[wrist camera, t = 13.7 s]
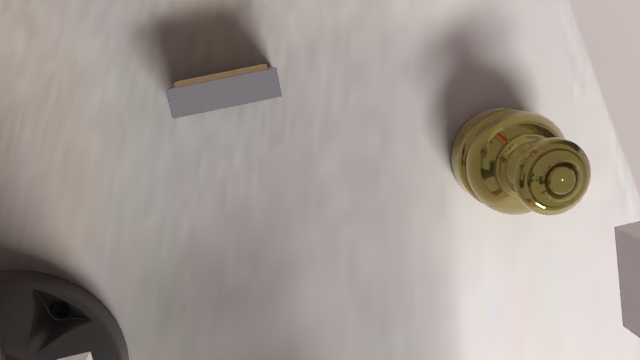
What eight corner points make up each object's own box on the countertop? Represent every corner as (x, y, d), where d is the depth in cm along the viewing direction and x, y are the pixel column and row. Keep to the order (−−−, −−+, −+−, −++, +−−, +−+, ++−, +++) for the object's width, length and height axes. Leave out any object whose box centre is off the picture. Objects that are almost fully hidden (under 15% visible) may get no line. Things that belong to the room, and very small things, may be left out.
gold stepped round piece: (522, 211, 48) (594, 251, 39) (435, 187, 47) (488, 222, 37) (554, 121, 47) (637, 139, 37) (467, 94, 46) (529, 105, 36)
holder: (179, 111, 43) (172, 118, 38) (137, -64, 41) (123, -80, 36) (277, 91, 44) (282, 96, 39) (241, -82, 41) (241, -100, 36)
